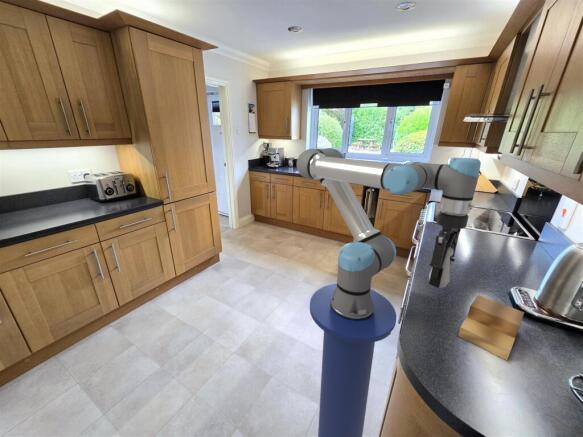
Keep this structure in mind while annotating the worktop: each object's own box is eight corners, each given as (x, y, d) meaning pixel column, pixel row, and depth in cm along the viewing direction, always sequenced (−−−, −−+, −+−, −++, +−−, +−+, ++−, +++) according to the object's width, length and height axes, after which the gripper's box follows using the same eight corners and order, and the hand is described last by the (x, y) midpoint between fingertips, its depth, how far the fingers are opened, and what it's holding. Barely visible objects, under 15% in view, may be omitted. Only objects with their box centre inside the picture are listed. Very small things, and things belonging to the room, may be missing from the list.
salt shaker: (448, 291, 74) (457, 252, 70) (426, 285, 77) (434, 248, 73) (448, 282, 79) (456, 245, 75) (428, 277, 81) (435, 241, 77)
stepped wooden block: (458, 335, 77) (463, 314, 74) (472, 314, 87) (477, 294, 84) (507, 360, 68) (515, 337, 66) (517, 333, 78) (524, 312, 76)
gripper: (457, 222, 62) (439, 299, 69) (478, 209, 73) (461, 276, 80) (426, 215, 67) (413, 287, 74) (450, 205, 79) (436, 268, 86)
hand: (438, 281), depth 77 cm, fingers closed on salt shaker, 6 cm apart
